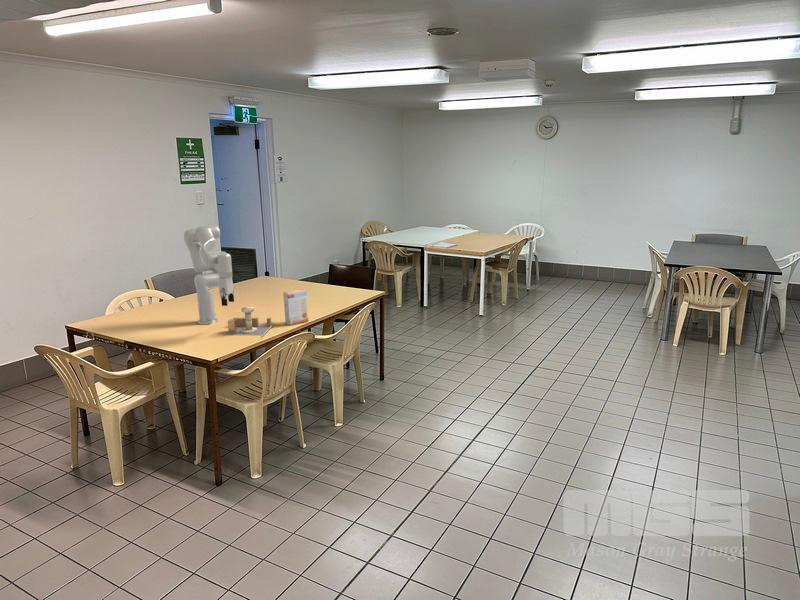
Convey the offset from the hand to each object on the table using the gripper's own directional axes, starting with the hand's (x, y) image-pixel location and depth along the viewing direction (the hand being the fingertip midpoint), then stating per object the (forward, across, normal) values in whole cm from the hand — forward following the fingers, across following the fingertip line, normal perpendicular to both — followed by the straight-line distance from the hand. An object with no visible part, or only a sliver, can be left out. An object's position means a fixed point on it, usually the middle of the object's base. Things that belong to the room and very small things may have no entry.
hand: (228, 303), depth 316 cm
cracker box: (+19, -28, +32) cm, 47 cm away
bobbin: (+18, -3, +10) cm, 21 cm away
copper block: (+18, -1, +1) cm, 18 cm away
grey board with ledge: (+19, -5, +9) cm, 21 cm away
